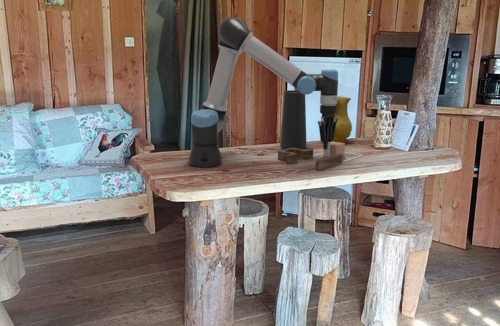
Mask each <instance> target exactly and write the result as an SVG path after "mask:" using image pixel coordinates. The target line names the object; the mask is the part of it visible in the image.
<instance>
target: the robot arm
mask: <svg viewBox="0 0 500 326" xmlns="http://www.w3.org/2000/svg"><path fill="white" fill-rule="evenodd" d="M217 30H218V36H219V39H218V43H217V46H218V48H219V54H218V57H217V61H216V65H215V69H214V72H213V76H212V81H211V84H210V87H209V88H210V89H209V92H208V96H207V99H206V101H204V102H203V103H202V106H201V109H198V110H197V109H196V110H195V111H193V112H192V113H191V117H190V122H191V123H190V124H191V127H190V128H191V149H190V153H189V157H188V158H187V159H188V161H187V162H188V165H190V166H192V167H197V168H211V167H217V166H220V165H222V164H223V156H222V154H221V151H220V147H219V133H220V132H221V131H222V130H223V128H224V126H225V124H226V115H227V111H228V109H227V107H226V103H227V100H228V96H229V92H230V88H231V84H232V81H233V77H234V74H235V70H236V66H237V63H238V58H239V56H240V55H241V54H242V53H245V54H246V55H248V56H249V57H250V58H252V59H254V60H255V61H256V62H258V63H259V64H260V65H263V66H264V67H265V68H266V69H268V70H269V71H270V72H272V73H274V74H275V75H276V76H278V78H280V79H282V80H284V81H285V82H286V83H288V84H289V85H291V86H292V87H293V90H295V91H299V92H300V93H302V94H304V95H305V96H306V95H310V94H312V93H313V92H320V97H319V98H320V99H319V100H320V101H319V103H320V105H319V113H320V114H321V118H320V120H318V121H317V124H318V130H319V140H320V142H322V143H323V152H322V153H323V155H322V157H323V156H330V146H331V142H333V139H334V135H335V129H336V124H337V121H338V119H336V118H335V115H334V114H336V113H337V105H336V104H337V96H338V89H339V72H338V70H337V69H322V70H321V71H320V73H318V74H316V73H315V74H314V73H312V74H311V73H306V72H305V71H303V70H302V69H301V68H299V67H297V65H295V64H294V63H292V62H291V61H289V60H288V59H286V58H285V57H284V56H283V55H281V54H279V53H278V52H277V51H275V50H273V49H272V48H271V47H269V46H268V45H267V44H265V43H264V42H263V41H261V40H260V39H259V38H257V37H255V36H254V34H253V32H252V31H251V30H250V29H249V26H248V24H247V23H246V22H245V21H244V20H243V19H242V18H239V17H235V16H234V17H233V16H230V17H226V18H224V19H223V20H222V21H221V22H220V24H219V25H218V29H217Z"/></svg>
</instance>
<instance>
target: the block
mask: <svg viewBox="0 0 500 326" xmlns="http://www.w3.org/2000/svg"><path fill="white" fill-rule="evenodd" d="M345 147H346V143H339V142H331V146H330V156H323V155H322V157H323V158H322V159H324V158H327V157H331V156H334V155H338V154H341V155H343V159H345V153H344V152H346V150H345Z"/></svg>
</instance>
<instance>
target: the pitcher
mask: <svg viewBox="0 0 500 326" xmlns="http://www.w3.org/2000/svg"><path fill="white" fill-rule="evenodd" d="M351 100H352V98H351V97H347V96H342V95H341V96H339V95H337V104H336V105H337V113H336V114H334V115H335V118H336V119H338V121H337V124H336V129H335V135H334V139H333V142H339V143H345V144H346V143H347V141H346V140H347V139H349V138H350V136H351V133H352V130H353V125H352V122H351V120H350V118H349V114H348V105H349V103H350V101H351Z"/></svg>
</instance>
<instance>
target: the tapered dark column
mask: <svg viewBox="0 0 500 326" xmlns="http://www.w3.org/2000/svg"><path fill="white" fill-rule="evenodd" d="M282 102H283V103H282V114H281V115H282V116H281V128H280V142H279V143H280V144H279V148H280V147H281V148H282V149H281V148H280V149H281V150H284V149H288V148H297V149H302V150H307V118H306V117H307V115H306V114H307V113H306V112H307V111H306V110H307V109H306V108H307V107H306V95H304V94H302V93H300V92H299V91H295V90H294V89H293V90H290V89H289V90H284V92H283V101H282Z"/></svg>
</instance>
